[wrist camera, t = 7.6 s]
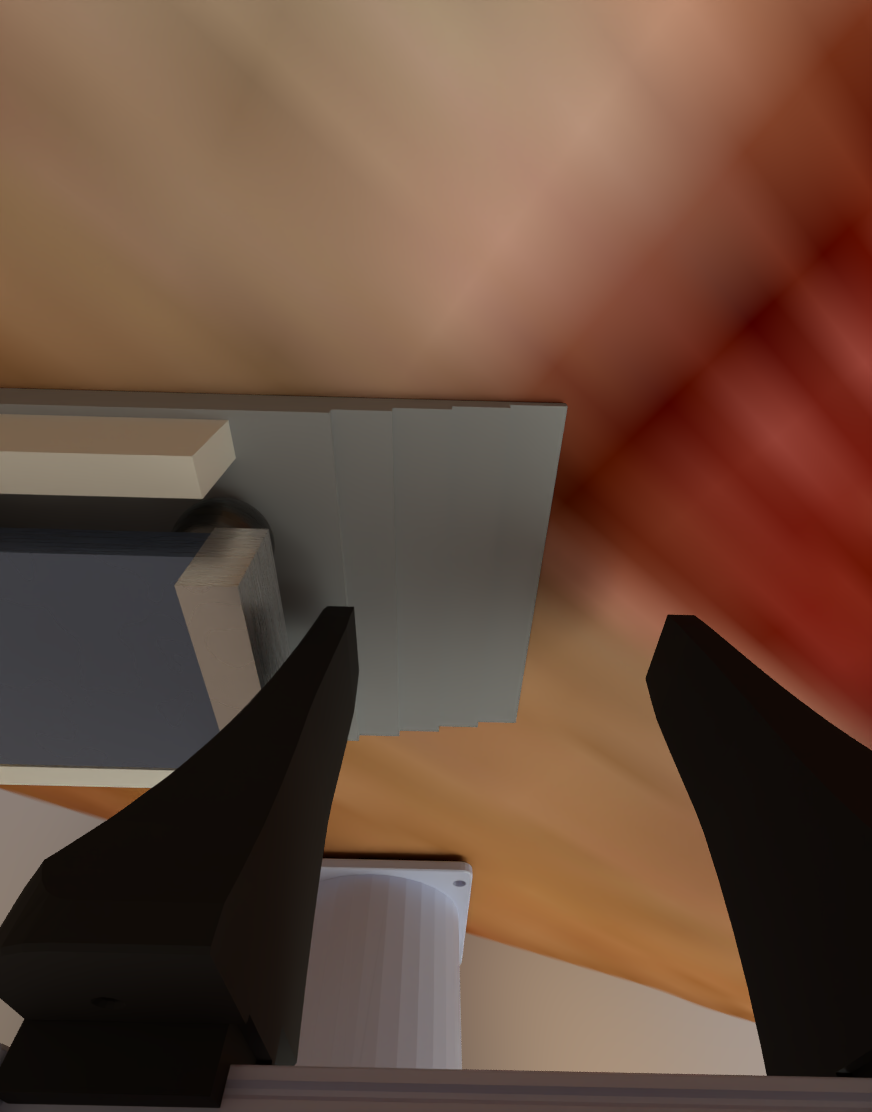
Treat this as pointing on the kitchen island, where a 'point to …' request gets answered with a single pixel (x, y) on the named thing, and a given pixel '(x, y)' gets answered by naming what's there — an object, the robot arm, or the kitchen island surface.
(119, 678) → the trolley
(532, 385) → the kitchen island surface
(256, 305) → the kitchen island surface
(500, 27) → the kitchen island surface
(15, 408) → the loading dock
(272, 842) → the robot arm
